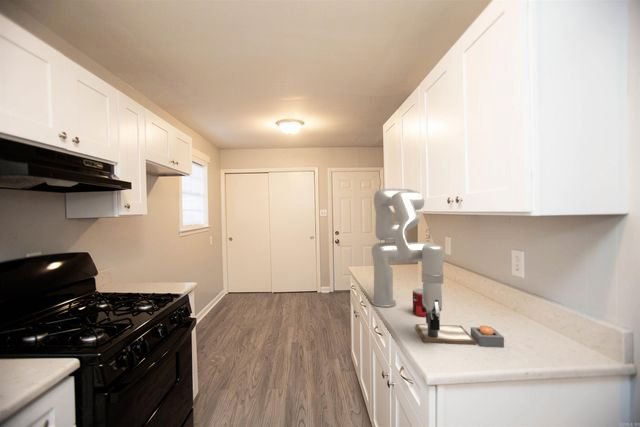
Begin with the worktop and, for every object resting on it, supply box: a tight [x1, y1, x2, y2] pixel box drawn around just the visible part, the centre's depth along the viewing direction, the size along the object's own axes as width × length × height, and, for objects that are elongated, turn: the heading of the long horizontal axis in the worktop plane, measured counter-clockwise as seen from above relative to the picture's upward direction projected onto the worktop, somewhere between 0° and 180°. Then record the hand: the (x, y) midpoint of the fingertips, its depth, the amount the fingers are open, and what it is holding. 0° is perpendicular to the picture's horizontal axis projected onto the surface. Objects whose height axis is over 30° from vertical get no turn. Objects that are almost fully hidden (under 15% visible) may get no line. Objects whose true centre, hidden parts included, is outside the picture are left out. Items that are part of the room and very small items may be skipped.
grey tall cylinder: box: [427, 309, 438, 338], centre depth 107 cm, size 4×4×11 cm
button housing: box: [470, 326, 505, 348], centre depth 105 cm, size 8×8×4 cm
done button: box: [479, 325, 495, 335], centre depth 105 cm, size 4×4×3 cm
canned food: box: [412, 288, 426, 318], centre depth 132 cm, size 8×8×11 cm
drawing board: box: [414, 323, 477, 346], centre depth 110 cm, size 14×18×1 cm
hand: (432, 326), depth 107 cm, fingers open, 5 cm apart
